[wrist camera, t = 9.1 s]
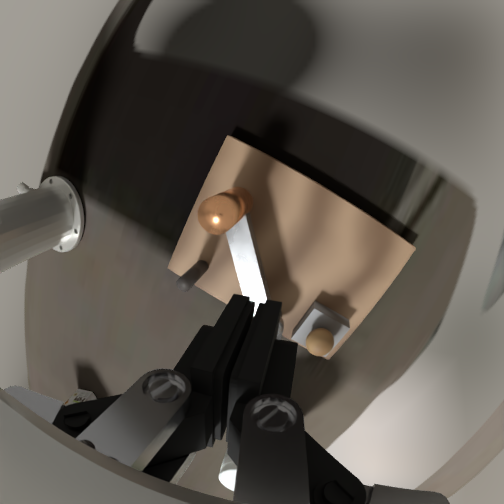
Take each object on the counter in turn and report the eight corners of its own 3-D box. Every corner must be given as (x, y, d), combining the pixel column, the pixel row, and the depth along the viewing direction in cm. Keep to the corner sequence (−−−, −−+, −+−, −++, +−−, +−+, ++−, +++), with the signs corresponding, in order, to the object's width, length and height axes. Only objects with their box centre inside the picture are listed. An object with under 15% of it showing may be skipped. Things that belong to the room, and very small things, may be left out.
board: (172, 263, 38) (145, 285, 32) (231, 136, 31) (209, 132, 25) (328, 353, 38) (327, 388, 31) (412, 244, 31) (431, 266, 24)
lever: (288, 331, 34) (279, 369, 28) (256, 335, 35) (241, 371, 29) (252, 182, 30) (233, 191, 23) (216, 191, 31) (188, 202, 24)
